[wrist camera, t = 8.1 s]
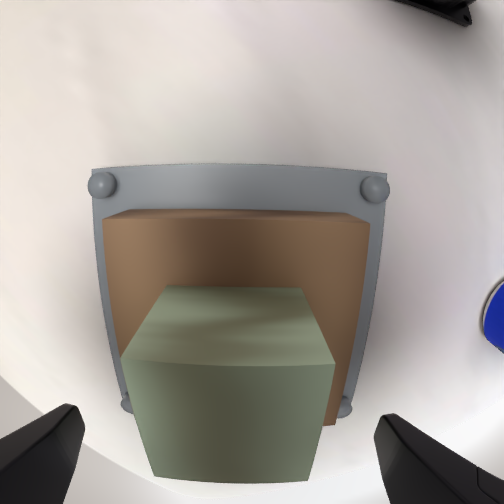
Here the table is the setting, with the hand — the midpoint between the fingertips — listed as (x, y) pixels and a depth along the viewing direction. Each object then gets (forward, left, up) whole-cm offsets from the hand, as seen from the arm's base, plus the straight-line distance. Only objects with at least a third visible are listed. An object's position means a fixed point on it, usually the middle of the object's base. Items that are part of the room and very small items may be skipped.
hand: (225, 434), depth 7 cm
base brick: (0, 0, -9) cm, 9 cm away
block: (0, 0, -5) cm, 5 cm away
